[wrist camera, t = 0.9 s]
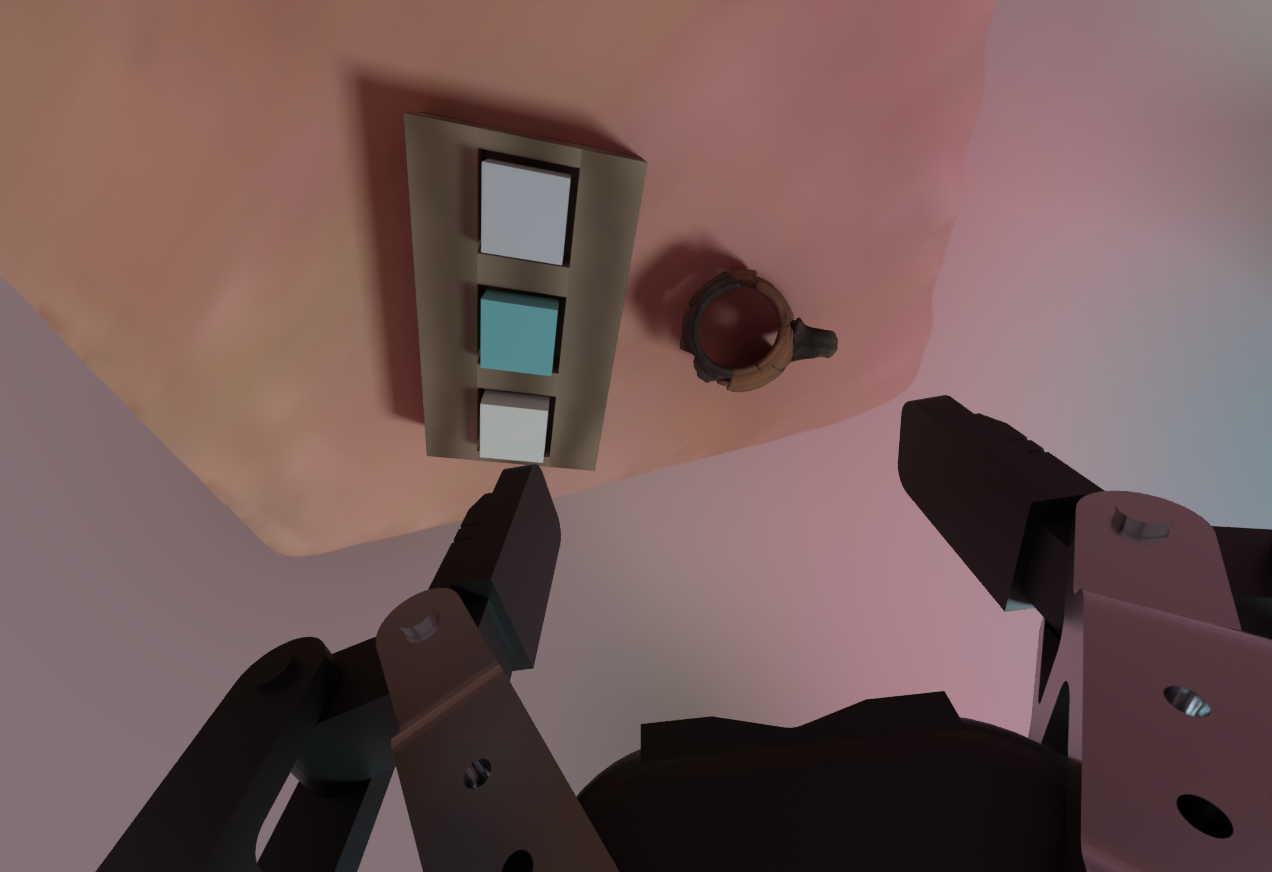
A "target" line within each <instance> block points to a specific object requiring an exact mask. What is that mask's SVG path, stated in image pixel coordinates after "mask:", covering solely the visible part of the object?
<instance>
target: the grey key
mask: <svg viewBox="0 0 1272 872" xmlns="http://www.w3.org/2000/svg"><path fill="white" fill-rule="evenodd" d="M570 181H571V174H566V173H561V172H556V171H551V170H546V169H541V168H535V167H530V166H525V165H520V164H515V163H510V162H505V161H499V160H494V159H489V158H488V159H486V160H484V161H482V213H481V252H483V253H489V254H495V255H501V256H508V257H514V258H520V259H526V260H532V261H538V262H545V263H551V264H557V265H562V262H563V254H564V243H565V233H566V223H567V212H568V202H569V192H570Z"/></svg>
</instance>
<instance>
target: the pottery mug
mask: <svg viewBox="0 0 1272 872" xmlns="http://www.w3.org/2000/svg"><path fill="white" fill-rule="evenodd" d="M756 275H757V271H755V270H747V269H737V270H731V272H729V271H726V272H722V273H721V274H719V275H717V276H716V277H714V278H713V279H712V280H710V281H709V282H707V283H706V284H705V285H704V286H703V287H702V288H701V289H700V290H699V291H698V292H697V293H696V294H695V295H694V297H693V298H692V299H691V301H690V303H689V306H690V308H689V309H688V310H687V311H686V312H685V314H684V318H683V325H682V334H681V340H680V349H681V350H684V351H686V352H689V353H692V354H693V355H694V356H695V358H694V361H693V363H694V368H695V370H696V371H697V376H698V377H699V378H700V379H701V380H703V381H704V382H706V383H708V382H710V381H716V380H717V383H718V384H720V385H723V386H727V390H730V391H732V392H746V391H751V390H755V389H758V388H760V387H762V386H764V385H766V384H768V383H769V382H770V381H772V380H774V379H775V378H777V377H778V376H779V375H780V374H781V373H782V372H783V371H784V369H785V368H786V367H787V366H788V365H789V364H790V362H793V361H796V360H802V359H811V358H817V357H826V358H830V357H831V356H833V355H834V353H835V352H836V351H837V343H838V339H837V337H836V334H835V333H834V332H833V331H830V330H823V329H818V328H812V327H809V326H807V325H805V324H804V323H803V321H802V320H801V318H797V319H796V320H793V319H794V315H793V312H792V311H791V308H790V307H789V305H788V303H787V301H786V300H785V298H784V297H783V296H782V295H781V293H780V292H779V291H778V290H777V289H776V288H775V287H774V286H773V285H772V284H771V283H769V282H768V281H766V280H764V279H763V278H760V277H757V276H756ZM740 286H748V287H751V288H754V289H755V291H756V292H757V293H759V294H761V295H762V296H764V297H765V298H766V299H767V300H768V301H769V302H770V303H771V304H772V306H773V308H774V310H775V312H776V315H777V319H778V334H777V337H776V340H775V343H774V345H773V347H772V348H771V349H770V351H769V352H768V353H767V354H766V355H765V356H764V357H763V358H762V359H761V360H759V361H758V362H756V363H754V364H751V365H749V366H745V367H739V368H728V367H724V366H721V365H719V364H717V363H715V362H714V361H712V360H711V359H710V358H709V357H708V356H707V355H706V354H705V352H704V351H703V349H702V348H701V345H700V342H699V338H698V325H699V321H700V318H701V315H702V313H703V311H704V309H705V308H706V307H707V306H708V304H709V303H710V302H711V301H712V300H713V299H714V298H716V297H717V296H718V295H720V294H722V293H724V292H726V291H729V290H733V289H737V288H739V287H740ZM791 320H792V321H791Z"/></svg>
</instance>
